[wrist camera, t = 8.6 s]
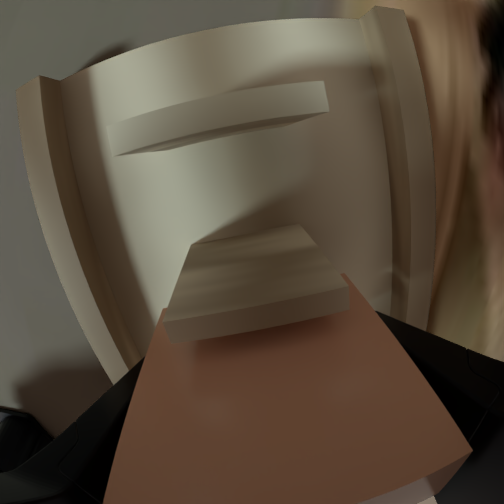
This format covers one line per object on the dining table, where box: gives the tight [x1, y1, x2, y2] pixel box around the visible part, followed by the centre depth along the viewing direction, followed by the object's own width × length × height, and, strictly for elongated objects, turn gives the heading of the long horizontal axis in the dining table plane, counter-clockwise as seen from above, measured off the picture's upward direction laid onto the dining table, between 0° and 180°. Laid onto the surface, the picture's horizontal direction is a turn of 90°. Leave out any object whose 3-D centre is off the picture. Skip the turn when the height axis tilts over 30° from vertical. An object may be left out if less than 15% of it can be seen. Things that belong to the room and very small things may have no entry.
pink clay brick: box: [103, 273, 473, 504], centre depth 6 cm, size 6×2×7 cm, turn 100°
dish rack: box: [16, 6, 436, 385], centre depth 10 cm, size 14×20×6 cm
